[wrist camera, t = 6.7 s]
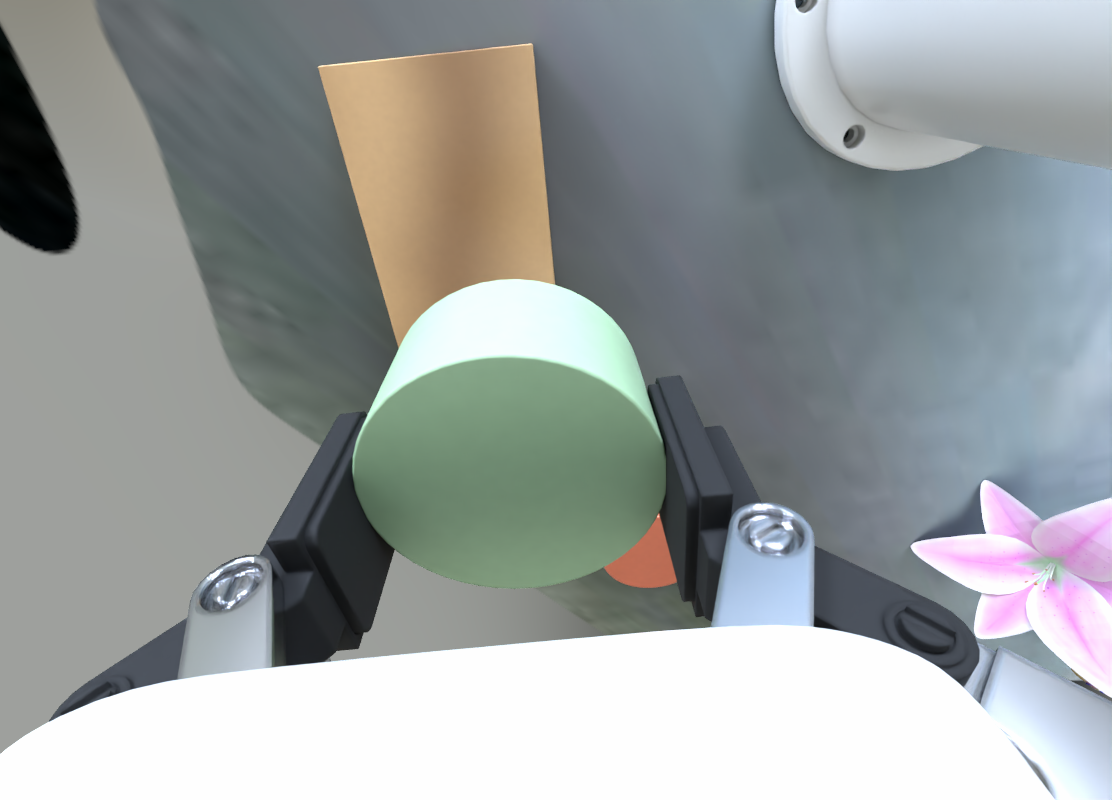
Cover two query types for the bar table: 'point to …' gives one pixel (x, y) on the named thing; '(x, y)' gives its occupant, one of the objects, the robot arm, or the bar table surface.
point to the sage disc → (512, 440)
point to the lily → (1038, 578)
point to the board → (445, 171)
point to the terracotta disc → (646, 561)
